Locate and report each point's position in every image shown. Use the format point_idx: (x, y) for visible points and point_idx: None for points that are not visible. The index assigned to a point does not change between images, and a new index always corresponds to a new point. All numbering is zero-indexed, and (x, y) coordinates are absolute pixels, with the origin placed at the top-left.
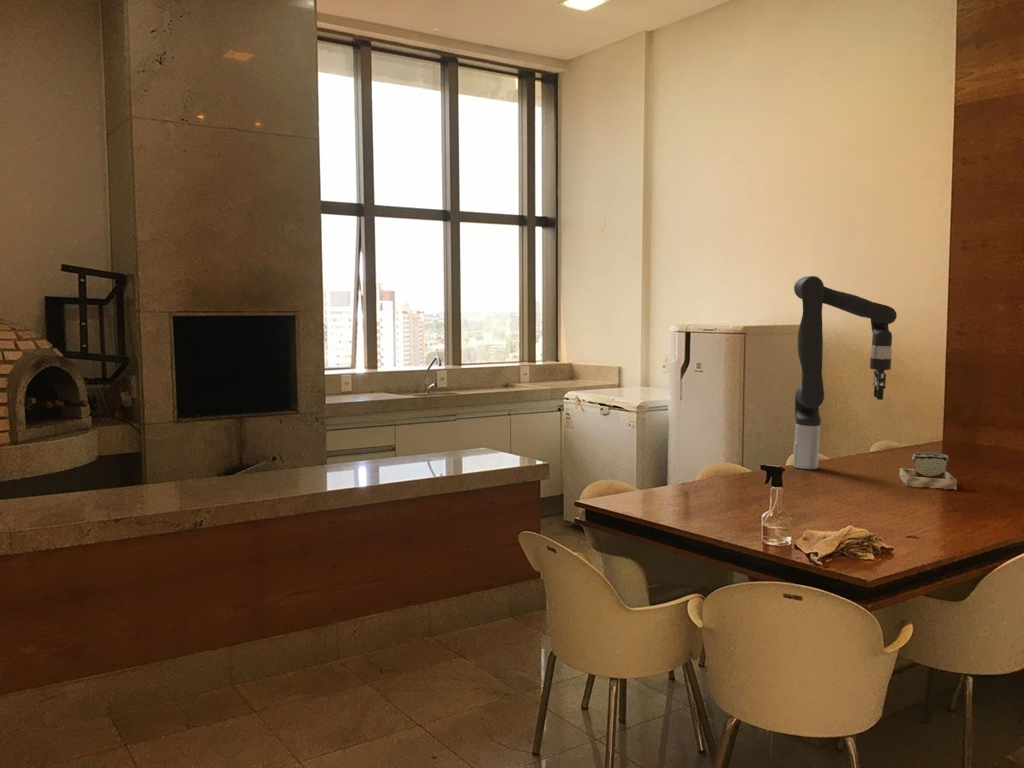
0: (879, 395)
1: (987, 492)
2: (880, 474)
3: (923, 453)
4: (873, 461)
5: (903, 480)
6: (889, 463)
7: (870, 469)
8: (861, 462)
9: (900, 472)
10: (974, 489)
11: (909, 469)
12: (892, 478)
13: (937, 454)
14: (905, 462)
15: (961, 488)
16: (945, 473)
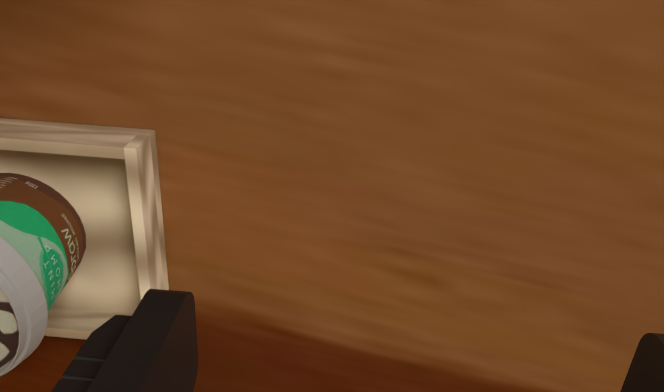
0: (79, 375)
1: (4, 388)
2: (201, 43)
3: (11, 294)
4: (642, 92)
5: (22, 123)
6: (584, 174)
7: (346, 14)
8: (593, 3)
9: (115, 139)
10: (38, 364)
11: (129, 192)
12: (109, 87)
13: (15, 355)
14: (631, 265)
15: None
16: None
